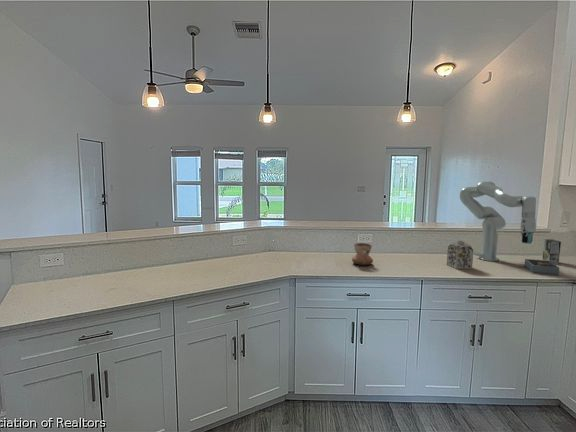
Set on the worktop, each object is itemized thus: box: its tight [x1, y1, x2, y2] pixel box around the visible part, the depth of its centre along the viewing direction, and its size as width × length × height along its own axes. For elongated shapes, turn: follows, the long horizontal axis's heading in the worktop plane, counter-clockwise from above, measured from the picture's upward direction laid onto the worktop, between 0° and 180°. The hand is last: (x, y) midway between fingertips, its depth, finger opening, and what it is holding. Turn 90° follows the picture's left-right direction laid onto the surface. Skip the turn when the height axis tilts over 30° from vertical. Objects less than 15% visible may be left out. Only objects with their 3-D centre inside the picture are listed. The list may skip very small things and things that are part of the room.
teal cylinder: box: [521, 232, 533, 245], centre depth 224 cm, size 5×5×7 cm
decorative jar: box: [446, 240, 474, 270], centre depth 227 cm, size 12×12×18 cm
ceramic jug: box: [351, 242, 374, 266], centre depth 235 cm, size 18×14×14 cm
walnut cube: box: [537, 262, 550, 267], centre depth 216 cm, size 5×5×5 cm
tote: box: [524, 258, 560, 276], centre depth 220 cm, size 18×14×5 cm
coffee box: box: [542, 238, 562, 265], centre depth 239 cm, size 9×6×16 cm
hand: (527, 241), depth 224 cm, fingers closed on teal cylinder, 4 cm apart
